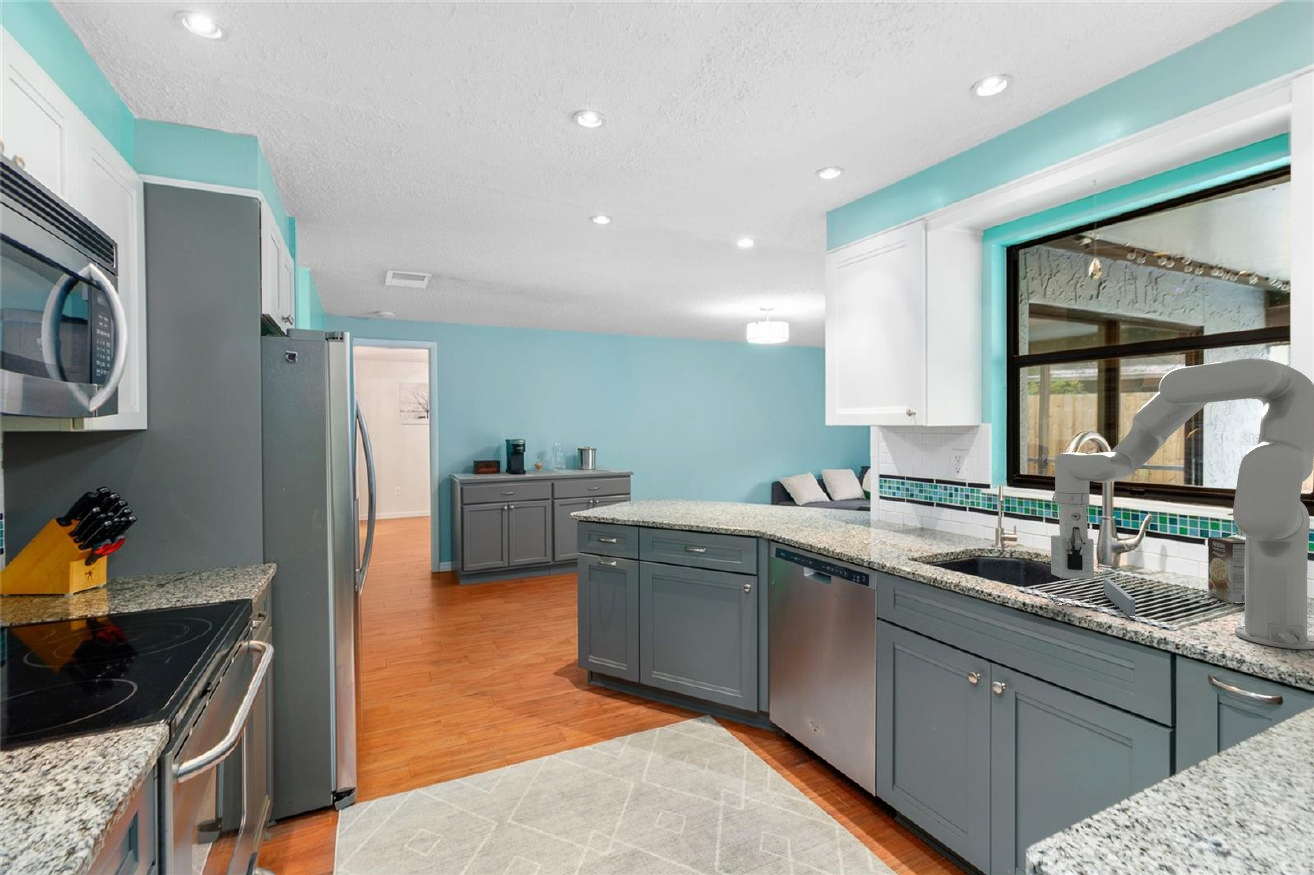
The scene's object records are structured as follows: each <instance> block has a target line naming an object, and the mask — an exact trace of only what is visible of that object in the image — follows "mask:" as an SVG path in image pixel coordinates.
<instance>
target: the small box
mask: <svg viewBox="0 0 1314 875" xmlns="http://www.w3.org/2000/svg"><path fill="white" fill-rule="evenodd" d="M1070 542H1074V540H1070ZM1081 545H1082V555H1083V569H1082V570H1070V569H1068V568H1067V554H1069V548H1068V543H1067V542H1066V540H1065V538H1064V537H1062V536H1060V534H1059V535H1057V534H1056V535H1054V534H1053V535H1051V536H1050V563H1051V564H1050V565H1051V566H1050V569H1051V570H1050V571H1051V572H1050V573H1051V575H1053V576H1056V577H1058V578H1060V579H1064V580H1065V579H1067V580H1068V579H1069V580H1070V579H1072V580H1073V579H1074V580H1075V579H1076V580H1081V579H1084V580H1085V579H1086V580H1087V579H1089V580H1090V579H1091V580H1092V579H1093V580H1094V578H1095V577H1094V576H1095V573H1094V570H1095V566H1094V561H1095V560H1094V558H1095V557H1094V553H1095V551H1094V549H1095V548H1094V546H1095V545H1094V539H1093V538H1090V537H1088V543H1087V544H1085V543H1083V542H1082V539H1081ZM1072 546H1073V545H1072Z"/></svg>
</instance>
